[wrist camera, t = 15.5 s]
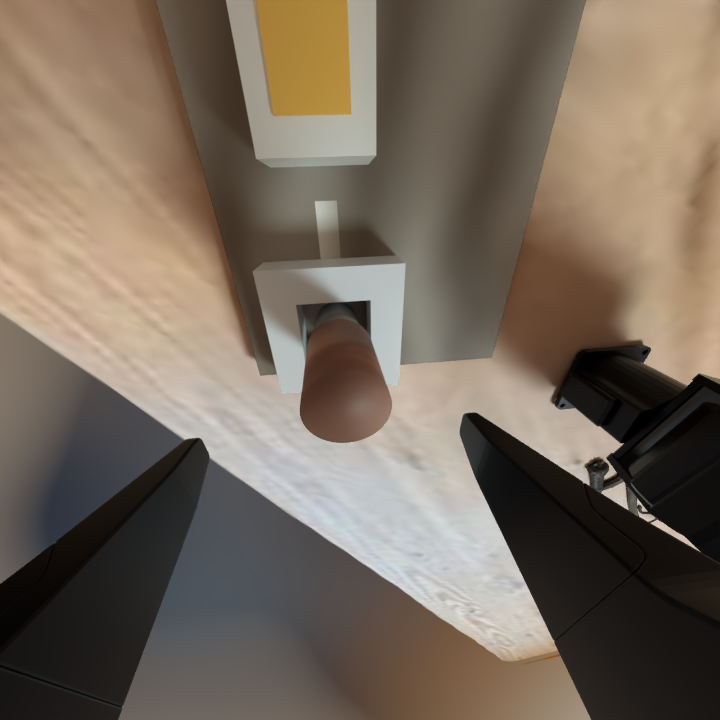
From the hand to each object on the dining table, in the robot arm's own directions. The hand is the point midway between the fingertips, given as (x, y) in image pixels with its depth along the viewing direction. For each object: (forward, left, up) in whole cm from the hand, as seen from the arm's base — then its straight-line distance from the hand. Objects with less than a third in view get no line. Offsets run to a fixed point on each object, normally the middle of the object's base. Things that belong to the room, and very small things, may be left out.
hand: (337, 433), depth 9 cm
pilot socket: (0, 0, -10) cm, 10 cm away
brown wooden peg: (0, 0, -10) cm, 10 cm away
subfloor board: (-3, -7, -12) cm, 14 cm away
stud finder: (0, -12, -10) cm, 16 cm away
